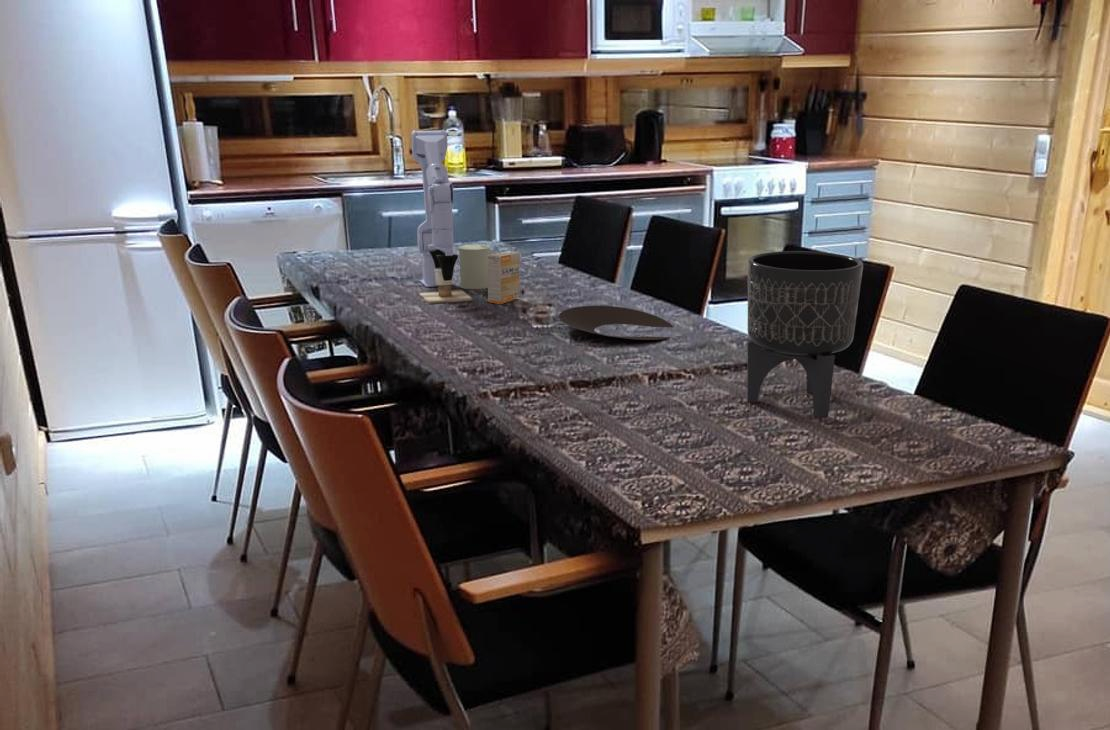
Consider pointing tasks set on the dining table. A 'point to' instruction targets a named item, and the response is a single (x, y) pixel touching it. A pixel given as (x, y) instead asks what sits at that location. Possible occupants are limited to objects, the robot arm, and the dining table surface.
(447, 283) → the cap
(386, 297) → the dining table surface
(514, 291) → the supplement box
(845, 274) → the planter
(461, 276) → the can
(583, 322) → the plate
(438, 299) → the square wooden board
